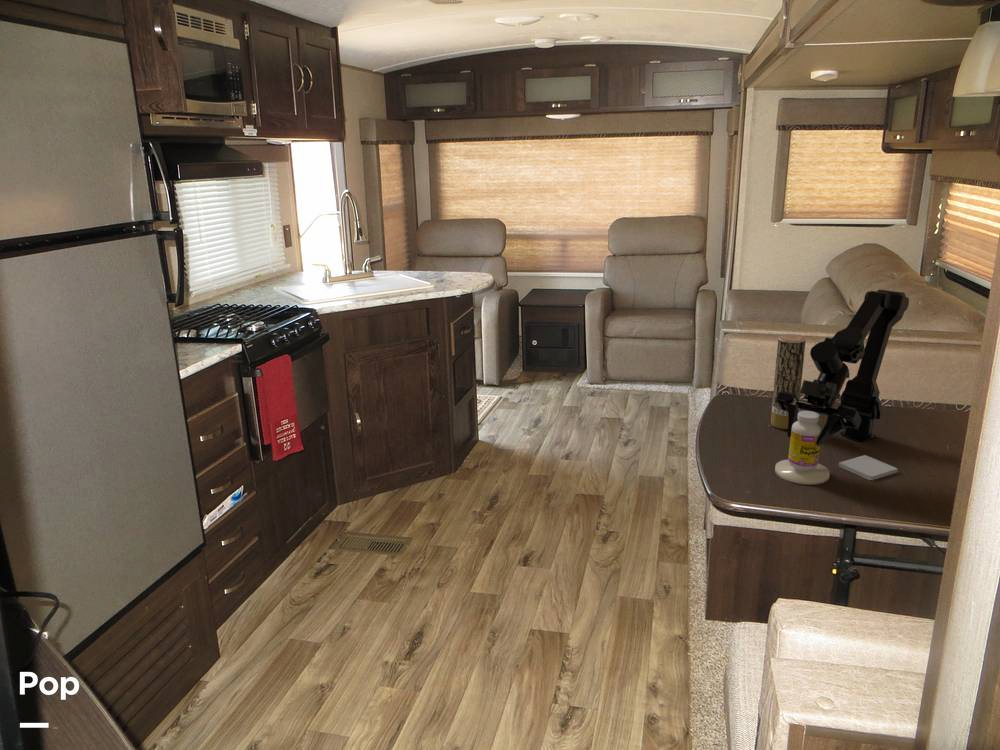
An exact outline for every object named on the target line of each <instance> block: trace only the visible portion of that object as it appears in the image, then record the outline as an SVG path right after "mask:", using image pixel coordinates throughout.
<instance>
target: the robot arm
mask: <svg viewBox="0 0 1000 750" xmlns="http://www.w3.org/2000/svg"><path fill="white" fill-rule="evenodd" d="M909 304H910V298H909V297H908V296H906V293H905V292H904V291H903V292H901V291H894V290H885V289H877V290H870V291H869V290H868V291H867V292H865V295H864V298H863V302H862V303H861V304H860V306H859V308H858V309H857V311H856V313H855V314H854V316H853V317H852V318H851V320H850V322H849V323H848V325H846V327H844V328H843V329H841V330H839V331H836V333H835V334H834V335H833V336H832V337H825V339H824V340H823V341H821V342H818V343H816V344H814V345H813V346H812V347H811V349H810V351H809V354H810V357H811V359H812V362H813V363H814V366H815V367H816V370H817V371H818V372H819V374H818V377H817V379H814V380H813V381H811V380H807V379H806V380H805V379H803V381H802V383H801V391H800V395H801V394H802V395H803V398H804V399H805V400H806V401H805V400H804V401H803V400H801V399H800V400H799V399H798V398H797V396H796V394H793V393H789V392H785V391H781V392H779V393H778V394H777V396H776V398H775V400H776V402H777V403H778V405H779V407H780V408H781V409H782V410H783V411H787V412H788V417H789V420H788V421H789V422H788V429H787V437H788V438H791V429H792V425H793V424H794V423H795V422H797V421H798V418H797V417H798V412H800V411H812V412H816V413H818V414H819V415H820V414H821V415H824V416H827V420H826V422H825V425H824V427H822V432H821V434H820V436H819V438H818V440H817V445H818V446H819V445H820V446H821V445H822V444H823V443H824V442H825V441H827V440H829V438H831V437H832V436H834V435H835V434H837V433H839V435H841V436H845V437H847V438H849V439H851V440H853V441H855V442H856V441H857V442H859V443H860V442H865V441H868V440H872V439H876V438H877V437H878V435H877V434H875V433H873V428H874V427H873V425H874V421H875V420H880V419H882V414H883V404H882V403H881V400H880V393H881V391H880V388H879V386H878V383H877V379H878V375H879V373H880V368H881V367H882V366H881V365H882V362H883V359H884V356H885V351H886V349H887V345H888V341H889V338H890V335H891V333H892V329H893V327H894V326H895V325H896V324H898V323H899V322H900V321H901V320H902V319H903V317H904V314H905V312H906V311H907V310H908V308H909ZM867 336H868V337H867ZM866 338H867V340H866ZM865 340H866V342H865ZM859 361H860V363H859V367H858V369H857V370H858V371H857V373H856V375H855V376H854V377H853V378H852V379H849V378H850V369H849V367H848V365H847V364H846V363H849V364H857V363H858V362H859ZM847 379H848V380H847ZM846 380H847V381H846ZM845 381H846V382H845ZM845 383H846V384H845ZM844 385H845V388H844V390H843V391H842V393H840V392H841V390H842V388H843V386H844ZM837 399H838V400H839V399H840V405H838V407H837V408H834V406H835V403H836V401H837ZM841 430H843V431H841ZM839 431H840V432H839Z"/></svg>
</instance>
